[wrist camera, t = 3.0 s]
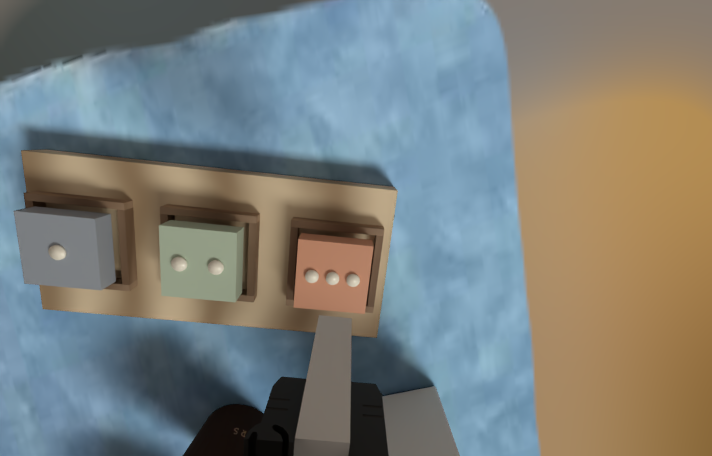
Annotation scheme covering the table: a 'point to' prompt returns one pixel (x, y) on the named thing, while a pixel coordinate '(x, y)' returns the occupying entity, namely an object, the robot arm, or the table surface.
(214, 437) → the coffee mug
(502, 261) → the table surface
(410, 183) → the table surface
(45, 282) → the key one dot
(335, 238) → the key three dots
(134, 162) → the keypad board
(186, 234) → the key two dots
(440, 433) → the milk carton
